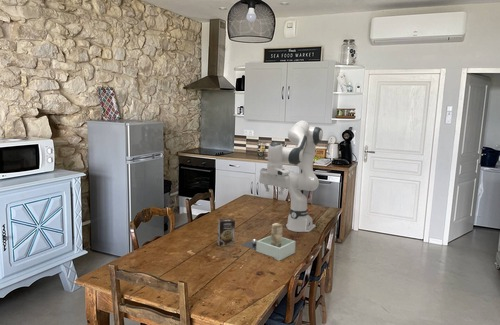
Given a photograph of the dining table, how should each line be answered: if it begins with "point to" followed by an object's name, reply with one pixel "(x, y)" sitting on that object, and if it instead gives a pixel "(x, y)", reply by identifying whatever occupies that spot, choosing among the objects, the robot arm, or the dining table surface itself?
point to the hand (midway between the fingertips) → (274, 192)
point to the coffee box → (226, 232)
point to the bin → (276, 248)
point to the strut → (276, 235)
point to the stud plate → (251, 244)
